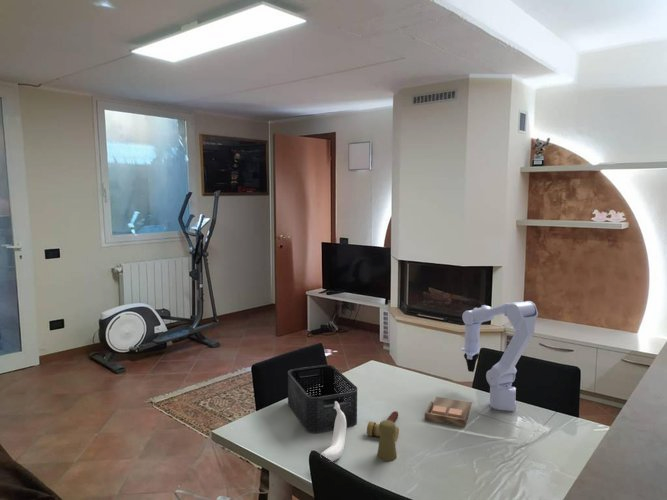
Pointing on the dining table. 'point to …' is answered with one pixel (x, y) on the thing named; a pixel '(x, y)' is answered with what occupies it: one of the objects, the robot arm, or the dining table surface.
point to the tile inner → (455, 413)
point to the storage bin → (321, 398)
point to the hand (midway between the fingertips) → (471, 371)
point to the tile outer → (439, 410)
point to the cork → (387, 441)
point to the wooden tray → (449, 404)
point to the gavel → (374, 428)
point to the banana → (337, 436)
